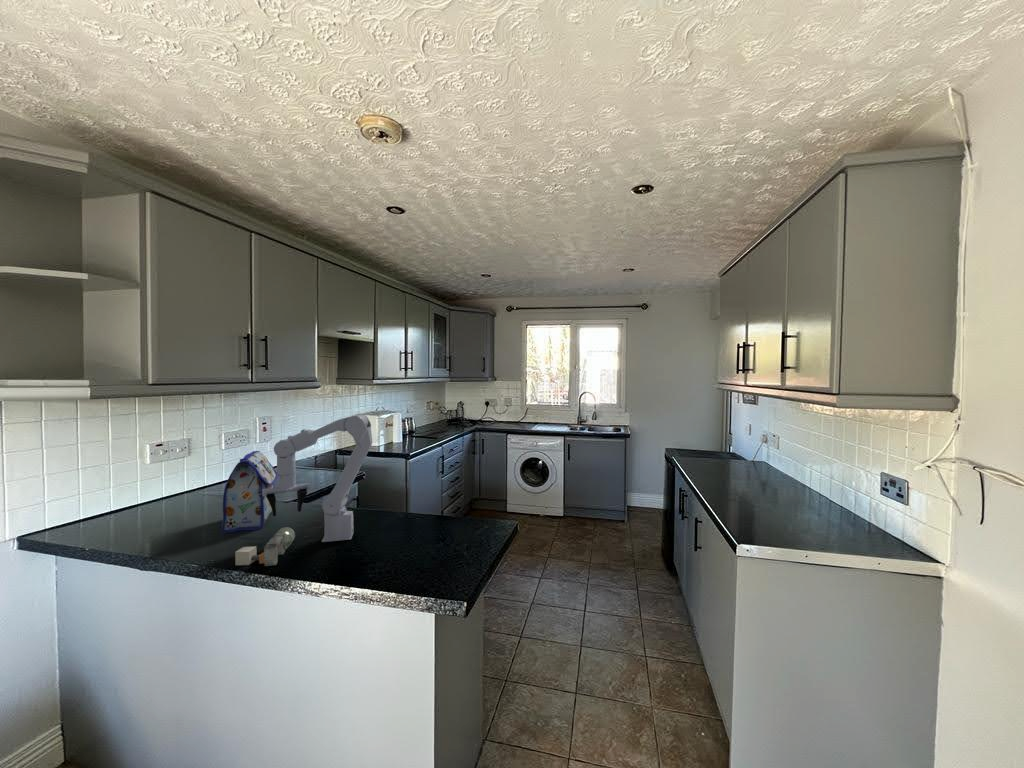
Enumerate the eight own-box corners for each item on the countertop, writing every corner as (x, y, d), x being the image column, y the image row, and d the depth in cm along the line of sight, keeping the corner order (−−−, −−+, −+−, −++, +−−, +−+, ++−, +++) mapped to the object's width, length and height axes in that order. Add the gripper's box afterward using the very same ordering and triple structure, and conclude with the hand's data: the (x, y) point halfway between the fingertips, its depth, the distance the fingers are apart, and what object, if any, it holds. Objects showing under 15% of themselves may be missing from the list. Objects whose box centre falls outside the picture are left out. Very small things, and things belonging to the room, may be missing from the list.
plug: (271, 558, 131) (271, 545, 131) (264, 564, 127) (264, 551, 127) (243, 559, 130) (243, 546, 130) (235, 565, 126) (235, 552, 126)
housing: (295, 543, 143) (294, 526, 143) (280, 564, 127) (280, 545, 127) (276, 545, 142) (276, 528, 142) (259, 566, 125) (259, 547, 125)
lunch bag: (271, 528, 158) (270, 457, 158) (219, 534, 152) (218, 460, 152) (280, 511, 179) (279, 448, 179) (234, 516, 173) (233, 451, 173)
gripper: (263, 479, 138) (264, 520, 138) (311, 473, 147) (312, 511, 147) (261, 475, 144) (261, 515, 144) (307, 469, 153) (307, 507, 153)
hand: (287, 513), depth 146 cm, fingers open, 7 cm apart
